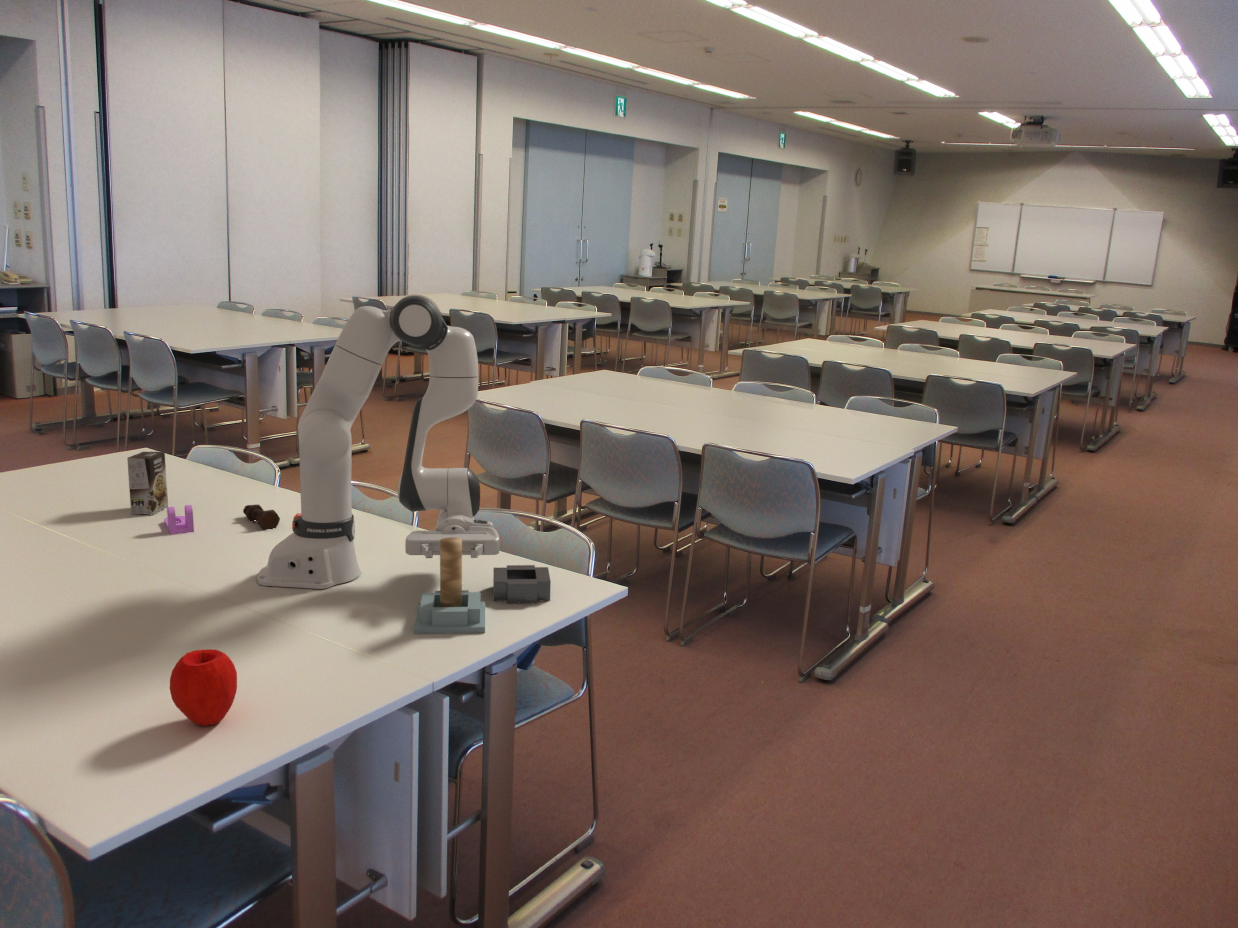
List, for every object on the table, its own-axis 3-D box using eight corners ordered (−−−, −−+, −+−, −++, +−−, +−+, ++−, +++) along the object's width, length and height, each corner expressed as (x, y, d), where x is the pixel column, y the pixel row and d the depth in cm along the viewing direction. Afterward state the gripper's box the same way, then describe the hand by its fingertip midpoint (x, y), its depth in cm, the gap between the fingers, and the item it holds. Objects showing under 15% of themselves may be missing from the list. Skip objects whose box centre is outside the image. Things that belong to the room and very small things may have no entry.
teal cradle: (413, 633, 188) (413, 613, 187) (419, 607, 201) (418, 589, 200) (484, 632, 190) (485, 612, 189) (485, 606, 203) (485, 588, 202)
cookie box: (153, 515, 259) (149, 458, 256) (130, 514, 259) (125, 457, 256) (169, 506, 268) (165, 451, 265) (147, 505, 268) (142, 450, 265)
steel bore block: (493, 603, 205) (493, 584, 204) (493, 583, 217) (493, 565, 216) (550, 602, 207) (551, 583, 206) (547, 583, 219) (547, 565, 218)
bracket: (194, 532, 247) (192, 506, 245) (170, 535, 244) (169, 509, 242) (185, 519, 257) (183, 495, 256) (162, 522, 254) (161, 497, 253)
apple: (157, 728, 148) (152, 656, 145) (205, 702, 157) (201, 633, 154) (207, 742, 145) (202, 668, 142) (253, 714, 154) (249, 644, 151)
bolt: (252, 522, 263) (273, 533, 252) (235, 516, 260) (256, 527, 249) (261, 503, 264) (283, 514, 253) (245, 497, 260) (266, 507, 250)
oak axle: (439, 618, 193) (439, 543, 189) (440, 610, 197) (440, 537, 194) (461, 618, 194) (461, 543, 190) (462, 610, 198) (462, 537, 194)
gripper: (407, 521, 211) (401, 540, 197) (499, 521, 213) (499, 540, 200) (407, 548, 212) (401, 569, 199) (499, 548, 215) (499, 568, 201)
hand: (451, 554), depth 199 cm, fingers open, 8 cm apart
